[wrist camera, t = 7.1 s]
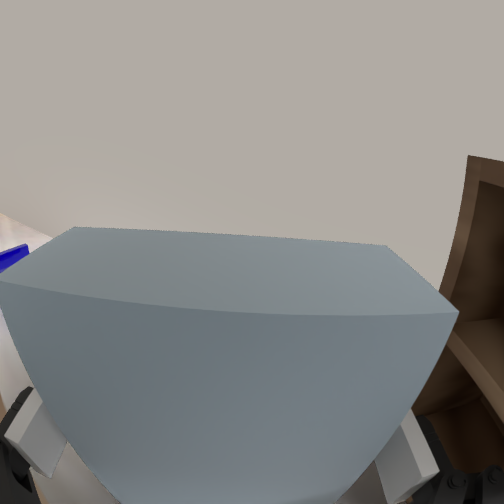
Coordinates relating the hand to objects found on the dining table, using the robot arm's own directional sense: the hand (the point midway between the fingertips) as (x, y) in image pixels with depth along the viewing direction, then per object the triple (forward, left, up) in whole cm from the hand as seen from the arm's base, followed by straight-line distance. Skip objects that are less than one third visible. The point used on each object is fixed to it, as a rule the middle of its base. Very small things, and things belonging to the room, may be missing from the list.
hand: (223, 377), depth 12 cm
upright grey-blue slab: (0, +3, -9) cm, 10 cm away
